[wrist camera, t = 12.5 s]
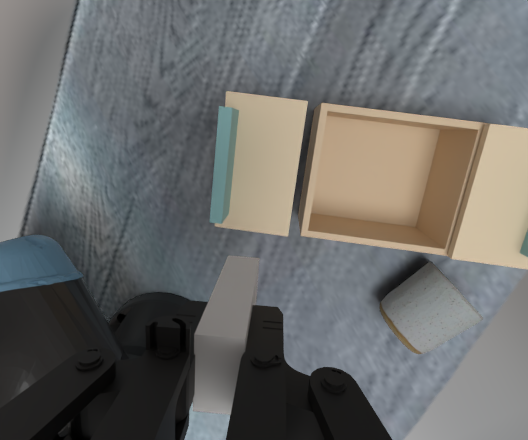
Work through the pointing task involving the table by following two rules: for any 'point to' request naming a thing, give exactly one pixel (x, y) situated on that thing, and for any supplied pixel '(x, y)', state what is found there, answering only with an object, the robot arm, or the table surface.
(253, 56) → the table surface
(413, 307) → the ceramic mug
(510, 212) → the lid
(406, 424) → the table surface
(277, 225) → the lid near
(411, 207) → the carton
